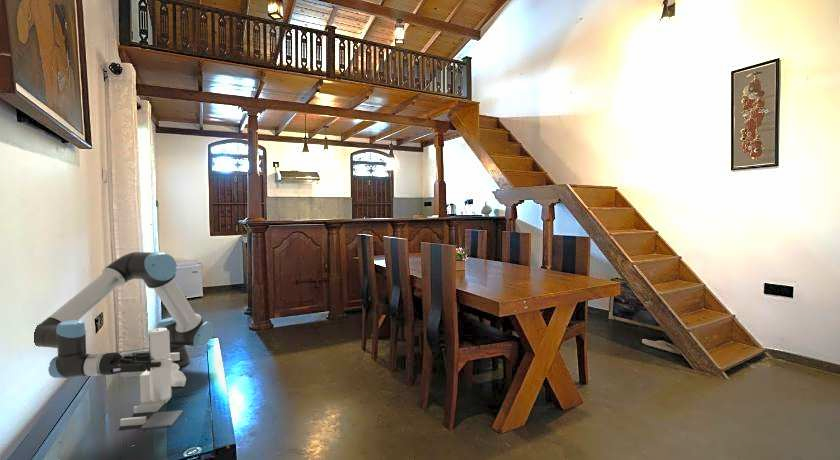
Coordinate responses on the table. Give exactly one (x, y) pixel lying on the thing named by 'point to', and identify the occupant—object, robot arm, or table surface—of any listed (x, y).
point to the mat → (162, 419)
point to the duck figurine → (177, 376)
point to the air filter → (159, 376)
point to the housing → (144, 403)
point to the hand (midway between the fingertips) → (175, 359)
